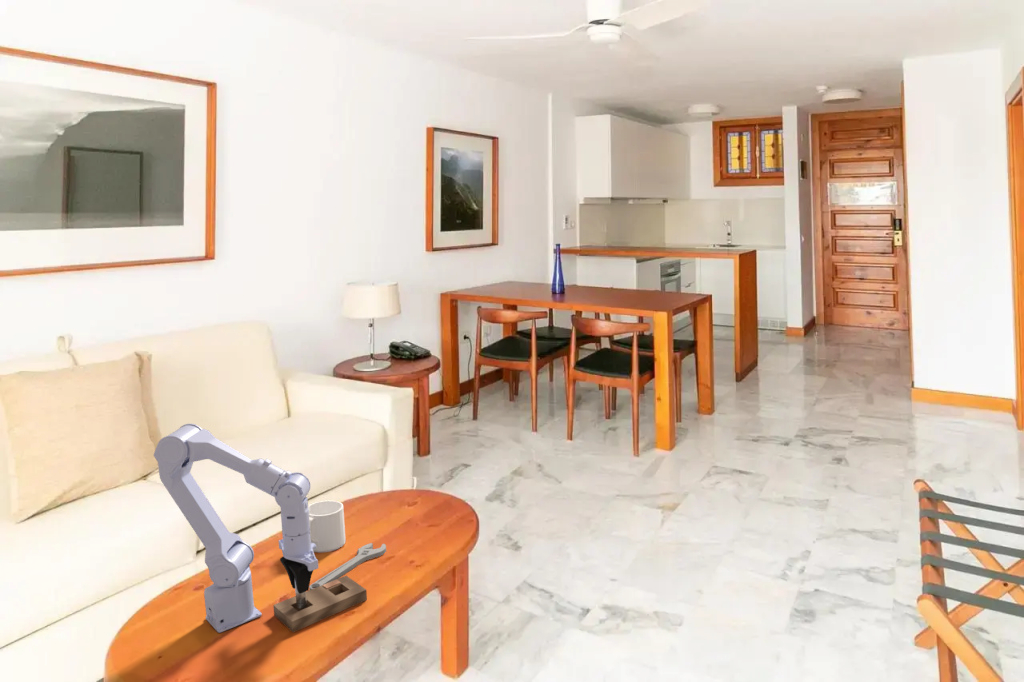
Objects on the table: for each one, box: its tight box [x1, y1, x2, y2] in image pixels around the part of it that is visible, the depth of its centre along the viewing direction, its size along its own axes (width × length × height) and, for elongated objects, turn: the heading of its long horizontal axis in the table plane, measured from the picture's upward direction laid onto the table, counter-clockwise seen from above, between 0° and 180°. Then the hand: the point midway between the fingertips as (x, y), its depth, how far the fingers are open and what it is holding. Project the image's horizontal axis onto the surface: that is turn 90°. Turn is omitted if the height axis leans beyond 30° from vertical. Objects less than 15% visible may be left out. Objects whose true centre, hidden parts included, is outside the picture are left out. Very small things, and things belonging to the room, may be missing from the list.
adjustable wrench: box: [308, 542, 387, 590], centre depth 174 cm, size 25×6×2 cm, turn 146°
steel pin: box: [294, 578, 307, 608], centre depth 152 cm, size 2×2×8 cm
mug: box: [308, 499, 346, 553], centre depth 185 cm, size 13×10×10 cm
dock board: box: [273, 575, 368, 633], centre depth 156 cm, size 18×9×3 cm, turn 133°
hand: (300, 589), depth 152 cm, fingers closed on steel pin, 2 cm apart
